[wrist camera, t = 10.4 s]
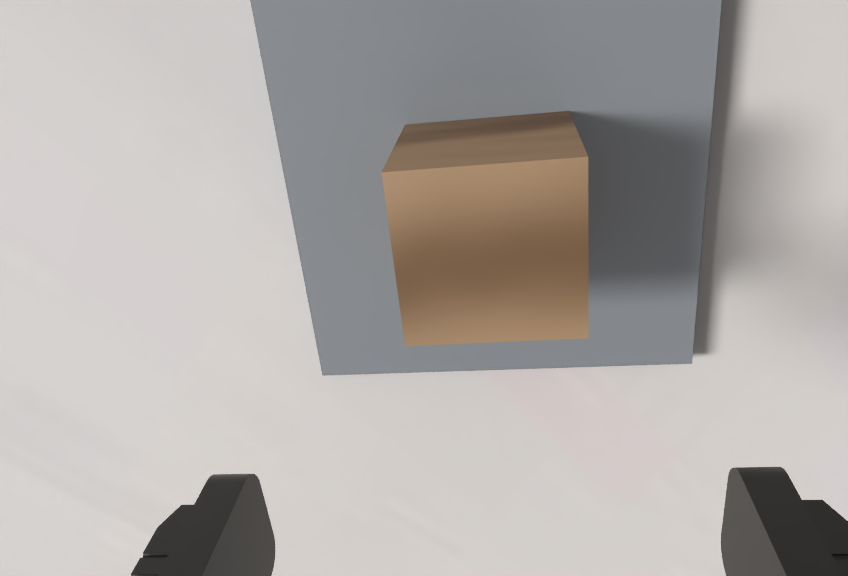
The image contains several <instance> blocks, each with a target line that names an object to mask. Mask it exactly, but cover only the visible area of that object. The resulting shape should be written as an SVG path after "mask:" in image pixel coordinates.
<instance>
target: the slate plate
mask: <svg viewBox="0 0 848 576" xmlns="http://www.w3.org/2000/svg"><path fill="white" fill-rule="evenodd" d="M250 1H251V6H252V11H253V16H254V22H255V27H256V32H257V37H258V42H259V48H260V53H261V58H262V63H263V68H264V74H265V79H266V84H267V89H268V94H269V100H270V105H271V110H272V115H273V120H274V126H275V131H276V136H277V141H278V146H279V151H280V157H281V162H282V167H283V172H284V177H285V183H286V188H287V193H288V198H289V203H290V209H291V214H292V219H293V224H294V229H295V235H296V240H297V245H298V250H299V255H300V261H301V266H302V271H303V276H304V281H305V286H306V292H307V297H308V302H309V307H310V312H311V318H312V323H313V328H314V333H315V338H316V344H317V349H318V354H319V359H320V364H321V370H322V375H350V374H381V373H412V372H443V371H474V370H505V369H536V368H568V367H599V366H630V365H661V364H692V356H693V344H694V332H695V320H696V308H697V295H698V283H699V271H700V259H701V247H702V235H703V222H704V210H705V198H706V186H707V174H708V162H709V149H710V137H711V125H712V113H713V101H714V89H715V76H716V64H717V52H718V40H719V28H720V16H721V3H722V0H250ZM560 111H569V112H570V115H571V117H572V120H573V122H574V124H575V127H576V129H577V131H578V134H579V136H580V138H581V141H582V143H583V145H584V148H585V150H586V153H587V155H588V311H589V338H586V339H562V340H539V341H515V342H491V343H468V344H444V345H420V346H405V343H404V336H403V328H402V321H401V313H400V306H399V299H398V291H397V284H396V276H395V269H394V262H393V254H392V247H391V239H390V232H389V225H388V217H387V210H386V202H385V195H384V188H383V180H382V173H381V172H382V170H383V168H384V166H385V164H386V162H387V160H388V158H389V156H390V154H391V152H392V150H393V148H394V146H395V144H396V142H397V140H398V138H399V136H400V134H401V132H402V130H403V128H404V126H405V124H417V123H429V122H441V121H453V120H465V119H477V118H489V117H501V116H512V115H524V114H536V113H548V112H560Z"/></svg>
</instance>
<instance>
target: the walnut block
mask: <svg viewBox="0 0 848 576" xmlns="http://www.w3.org/2000/svg"><path fill="white" fill-rule="evenodd" d="M381 173H382V180H383V188H384V195H385V202H386V210H387V217H388V225H389V232H390V239H391V247H392V254H393V262H394V269H395V276H396V284H397V291H398V299H399V306H400V313H401V321H402V328H403V336H404V343H405V346H420V345H444V344H468V343H491V342H515V341H539V340H562V339H586V338H589V311H588V155H587V153H586V150H585V148H584V145H583V143H582V141H581V138H580V136H579V134H578V131H577V129H576V127H575V124H574V122H573V120H572V117H571V115H570V112H569V111H560V112H548V113H536V114H524V115H512V116H501V117H489V118H477V119H465V120H453V121H441V122H429V123H417V124H405V126H404V128H403V130H402V132H401V134H400V136H399V138H398V140H397V142H396V144H395V146H394V148H393V150H392V152H391V154H390V156H389V158H388V160H387V162H386V164H385V166H384V168H383V170H382V172H381Z"/></svg>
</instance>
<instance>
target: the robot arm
mask: <svg viewBox="0 0 848 576" xmlns="http://www.w3.org/2000/svg"><path fill="white" fill-rule="evenodd" d="M721 550H722V558H723V564H724V569H725V572H726V576H848V521H847V520H845V519H844V518H843V517H842V516H841V515H840V514H838V513H837V512H836V511H835V510H834V509H832V508H831V507H830V506H829V505H828V504H827V503H825V502H824V501H823V500H801V498H800V496H799V494H798V492H797V490H796V489H795V487H794V485H793V483H792V481H791V479H790V478H789V476H788V474H787V472H786V471H785V470H784V469H783V468H781V467H746V468H732V469H731V470H730V472H729V476H728V483H727V491H726V500H725V508H724V516H723V525H722V533H721ZM274 560H275V539H274V534H273V530H272V527H271V523H270V519H269V515H268V511H267V508H266V504H265V500H264V496H263V492H262V489H261V485H260V482H259V479H258V477H257V476H256V475H255V474H218V475H212V476H211V477H210V478H209V479H208V480H207V482H206V484H205V486H204V487H203V489H202V491H201V493H200V495H199V497H198V499H197V501H196V503H195V504H194V505H181V506H180V507H179V508H178V509H177V510H176V511H175V512H174V513H172V514H171V515H170V516H169V517H168V518H167V519H166V520H165V521H164V522H163V523H162V524H161V525H160V526H159V527H158V528H157V529H156V531H155V533H154V535H153V536H152V538H151V540H150V542H149V544H148V545H147V547H146V549H145V551H144V552H143V558H140V559H139V561H138V563H137V565H136V566H135V568H134V570H133V572H132V573H131V576H271V575H272V571H273V567H274Z"/></svg>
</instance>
